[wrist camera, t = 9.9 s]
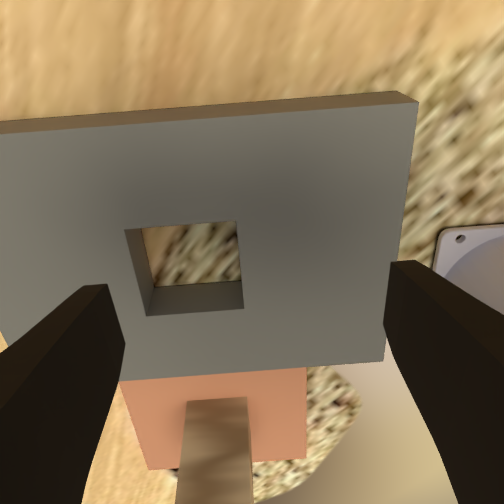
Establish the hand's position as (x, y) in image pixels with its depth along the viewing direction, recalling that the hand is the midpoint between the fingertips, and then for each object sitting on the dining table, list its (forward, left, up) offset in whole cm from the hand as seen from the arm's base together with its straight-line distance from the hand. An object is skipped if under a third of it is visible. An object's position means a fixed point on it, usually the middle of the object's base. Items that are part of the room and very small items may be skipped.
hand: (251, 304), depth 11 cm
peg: (+3, +18, -10) cm, 20 cm away
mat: (+3, +18, -10) cm, 21 cm away
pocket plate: (+3, +4, -10) cm, 12 cm away
